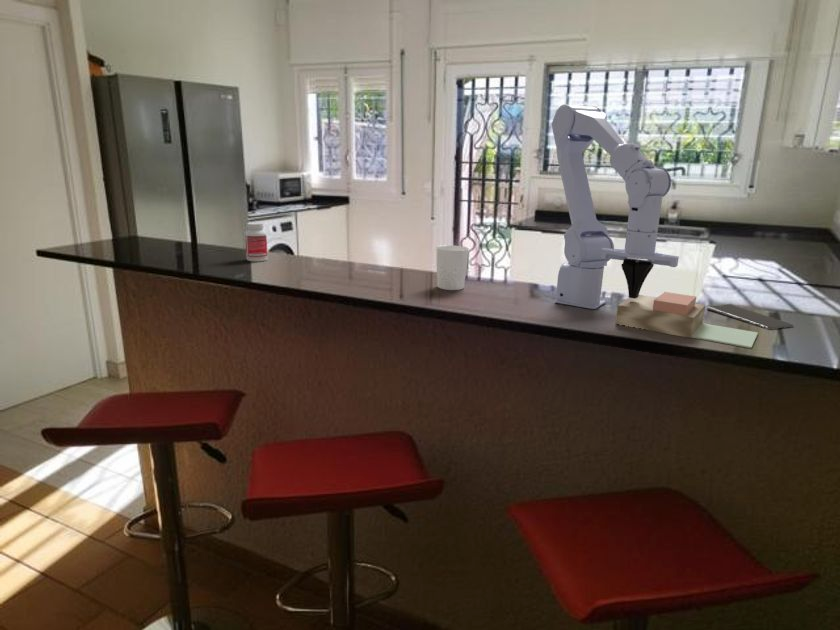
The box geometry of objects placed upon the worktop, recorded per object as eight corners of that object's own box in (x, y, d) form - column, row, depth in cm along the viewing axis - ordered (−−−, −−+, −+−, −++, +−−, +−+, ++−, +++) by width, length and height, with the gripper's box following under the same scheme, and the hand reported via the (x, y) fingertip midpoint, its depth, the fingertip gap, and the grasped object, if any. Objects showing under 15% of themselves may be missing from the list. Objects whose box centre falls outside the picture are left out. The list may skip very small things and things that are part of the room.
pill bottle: (271, 260, 172) (269, 223, 169) (253, 262, 168) (250, 225, 165) (261, 257, 176) (259, 221, 173) (242, 259, 172) (240, 222, 169)
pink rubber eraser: (652, 310, 111) (653, 300, 110) (663, 301, 118) (664, 291, 117) (685, 315, 107) (687, 305, 107) (694, 306, 114) (696, 296, 114)
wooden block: (615, 324, 115) (617, 305, 114) (632, 312, 124) (634, 294, 123) (690, 338, 107) (693, 317, 106) (702, 323, 117) (705, 305, 116)
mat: (690, 337, 108) (691, 335, 108) (701, 324, 116) (702, 323, 116) (751, 348, 102) (751, 346, 102) (757, 334, 111) (758, 332, 111)
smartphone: (769, 327, 114) (705, 306, 128) (768, 332, 114) (704, 310, 128) (795, 324, 116) (730, 303, 131) (794, 329, 117) (729, 308, 131)
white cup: (428, 287, 143) (429, 247, 140) (448, 282, 149) (450, 244, 146) (452, 292, 138) (454, 251, 135) (472, 287, 143) (474, 248, 141)
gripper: (599, 228, 114) (592, 295, 117) (676, 236, 106) (666, 307, 109) (610, 226, 119) (603, 289, 123) (684, 232, 111) (674, 300, 115)
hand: (633, 297), depth 117 cm, fingers closed
